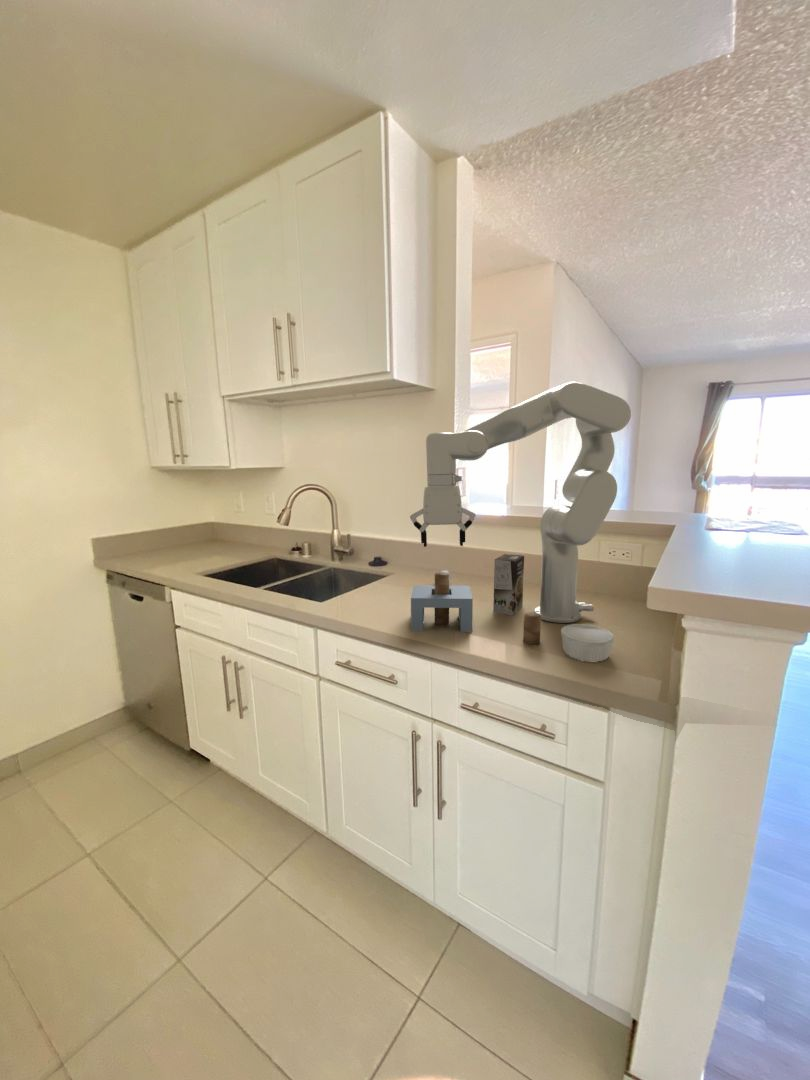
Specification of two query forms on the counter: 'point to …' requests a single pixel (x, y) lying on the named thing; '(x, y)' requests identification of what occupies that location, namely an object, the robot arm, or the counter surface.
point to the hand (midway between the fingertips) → (443, 545)
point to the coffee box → (508, 584)
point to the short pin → (532, 628)
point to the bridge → (441, 604)
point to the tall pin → (442, 589)
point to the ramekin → (586, 642)
